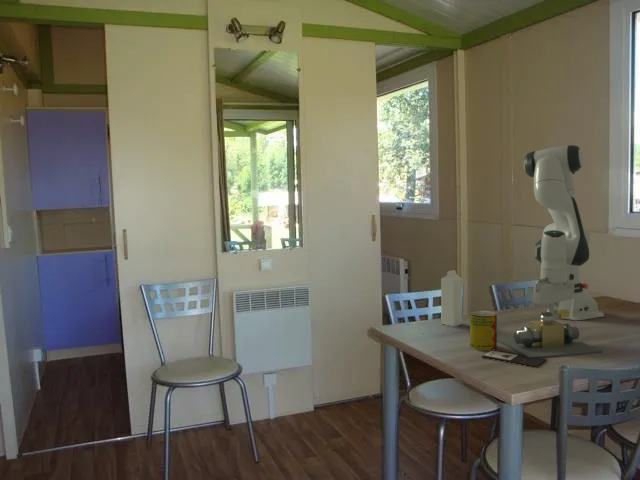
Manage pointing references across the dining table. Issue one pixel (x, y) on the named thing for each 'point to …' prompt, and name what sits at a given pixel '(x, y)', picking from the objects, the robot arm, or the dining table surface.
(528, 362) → the chocolate bar
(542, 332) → the valve body
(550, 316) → the lever
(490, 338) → the yellow tin can
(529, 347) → the mat
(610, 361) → the dining table surface
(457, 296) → the milk
